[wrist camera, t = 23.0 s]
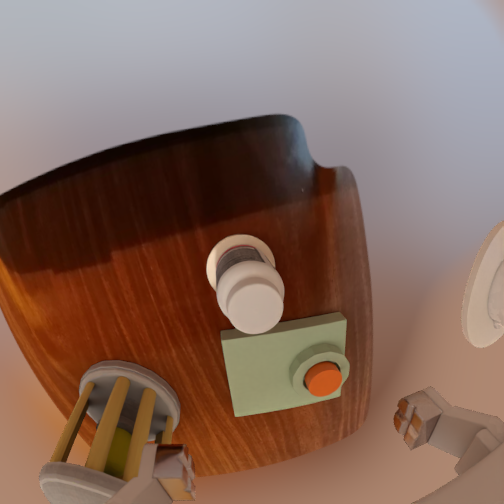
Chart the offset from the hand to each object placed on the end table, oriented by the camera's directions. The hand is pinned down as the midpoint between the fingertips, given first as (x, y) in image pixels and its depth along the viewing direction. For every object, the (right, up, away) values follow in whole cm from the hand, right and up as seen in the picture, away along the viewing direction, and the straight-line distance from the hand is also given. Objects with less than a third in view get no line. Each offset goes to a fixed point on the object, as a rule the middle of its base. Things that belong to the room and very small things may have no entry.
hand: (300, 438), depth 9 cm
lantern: (-18, -13, +24) cm, 33 cm away
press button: (+6, -7, +22) cm, 24 cm away
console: (+2, -7, +25) cm, 26 cm away
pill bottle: (-3, +5, +21) cm, 22 cm away
